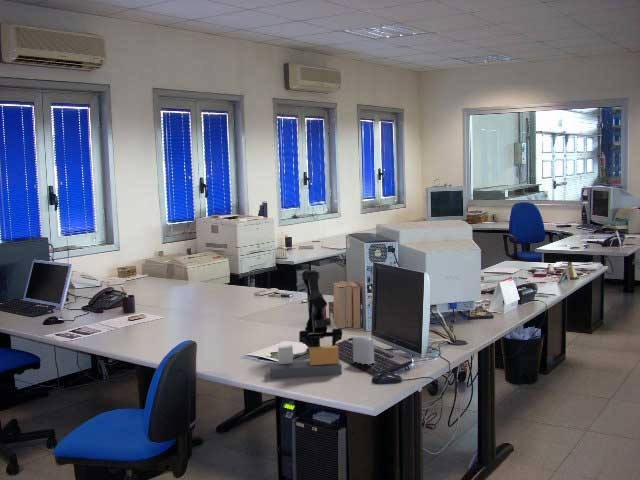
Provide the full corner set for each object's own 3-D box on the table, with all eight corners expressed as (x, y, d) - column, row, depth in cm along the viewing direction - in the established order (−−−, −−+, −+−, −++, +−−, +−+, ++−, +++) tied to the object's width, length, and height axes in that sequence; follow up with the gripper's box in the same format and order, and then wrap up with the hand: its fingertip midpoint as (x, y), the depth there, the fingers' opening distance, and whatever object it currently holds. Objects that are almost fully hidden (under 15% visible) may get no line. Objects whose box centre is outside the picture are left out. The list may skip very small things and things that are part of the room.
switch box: (269, 372, 297) (269, 363, 296) (338, 367, 300) (338, 358, 300) (271, 378, 287) (270, 369, 286) (341, 373, 290) (341, 364, 290)
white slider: (278, 362, 296) (278, 346, 295) (292, 361, 297) (292, 345, 296) (279, 364, 293) (278, 348, 292) (293, 363, 294) (292, 347, 293)
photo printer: (351, 362, 307) (351, 335, 306) (358, 360, 310) (357, 333, 309) (369, 366, 300) (369, 338, 299) (375, 364, 303) (375, 336, 302)
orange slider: (309, 363, 292) (309, 347, 292) (337, 361, 294) (337, 345, 293) (310, 365, 289) (310, 349, 289) (338, 363, 291) (338, 347, 290)
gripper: (298, 312, 298) (301, 344, 288) (340, 310, 300) (345, 341, 291) (297, 326, 307) (300, 357, 297) (338, 323, 309) (343, 354, 299)
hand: (322, 352), depth 296 cm, fingers open, 9 cm apart
